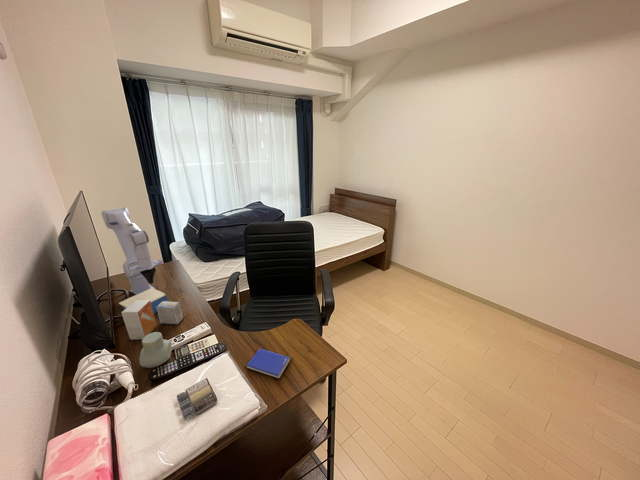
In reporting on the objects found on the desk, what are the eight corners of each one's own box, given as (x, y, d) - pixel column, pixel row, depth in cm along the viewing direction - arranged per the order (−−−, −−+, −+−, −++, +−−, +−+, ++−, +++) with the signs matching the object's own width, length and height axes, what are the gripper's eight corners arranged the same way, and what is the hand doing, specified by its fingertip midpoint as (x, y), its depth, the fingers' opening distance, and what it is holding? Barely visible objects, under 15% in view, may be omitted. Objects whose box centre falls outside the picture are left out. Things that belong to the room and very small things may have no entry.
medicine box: (183, 318, 111) (179, 301, 108) (177, 324, 107) (173, 308, 104) (167, 317, 112) (162, 300, 109) (160, 323, 108) (155, 307, 105)
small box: (146, 339, 99) (137, 312, 95) (129, 339, 99) (120, 312, 95) (157, 325, 107) (150, 299, 102) (142, 326, 107) (134, 300, 102)
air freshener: (168, 367, 87) (162, 345, 83) (140, 375, 84) (132, 352, 81) (173, 345, 96) (167, 324, 93) (148, 351, 94) (141, 330, 90)
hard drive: (289, 356, 89) (259, 347, 93) (278, 375, 82) (246, 364, 86) (290, 360, 90) (260, 351, 94) (278, 378, 83) (247, 368, 87)
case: (138, 322, 109) (134, 311, 107) (124, 313, 114) (121, 303, 112) (168, 305, 120) (166, 295, 118) (155, 298, 126) (152, 288, 123)
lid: (132, 312, 106) (132, 310, 106) (118, 304, 112) (118, 302, 112) (166, 295, 118) (165, 294, 118) (152, 288, 123) (152, 287, 123)
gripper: (130, 265, 107) (138, 292, 112) (164, 253, 119) (170, 278, 124) (122, 261, 111) (130, 288, 115) (156, 250, 122) (162, 274, 127)
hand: (150, 282), depth 120 cm, fingers closed
